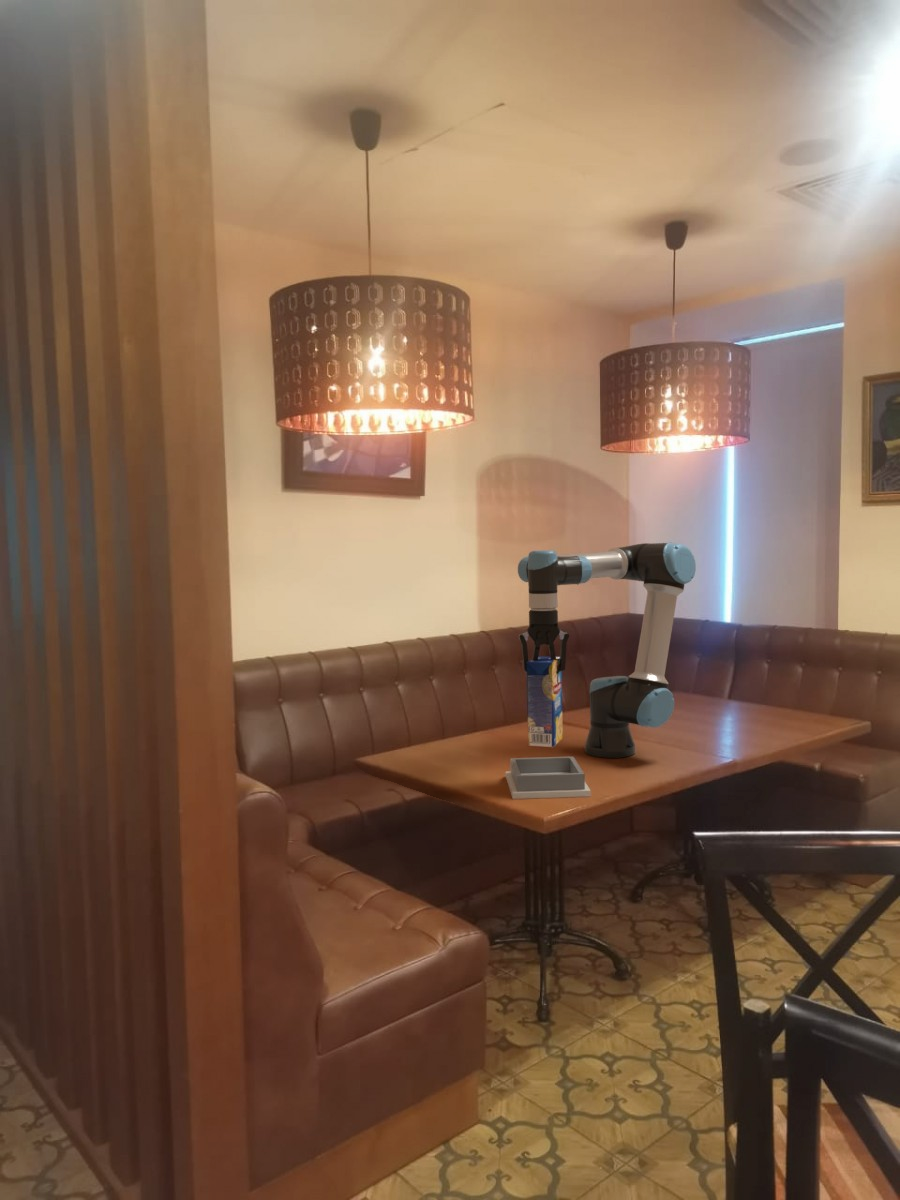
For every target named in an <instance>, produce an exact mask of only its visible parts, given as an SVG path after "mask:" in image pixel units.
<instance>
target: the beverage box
mask: <svg viewBox="0 0 900 1200" xmlns="http://www.w3.org/2000/svg"><path fill="white" fill-rule="evenodd" d="M526 663H527V672H526V700H527V701H526V702H527V703H526V705H527V711H526V713H527V745H528V747H529V746H533V747H545V748H546V747H548V748H554V747H555V746H556V745H557V744H558V743H559V742H560V741H562V739H563V738H564V735H563V734H564V731H563V729H564V728H563V727H564V725H563V724H564V723H563V721H564V719H563V678H562V677H563V675H562V674H563V671H560V672H559V673H557V674H556V671H557V666H559V663H560V656H556V660H551V659H550V656H544V655H543V656H542V655H540V656H539V655H538V660H532V658H531V659H528V661H527V662H526Z"/></svg>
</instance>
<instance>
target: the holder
mask: <svg viewBox="0 0 900 1200" xmlns="http://www.w3.org/2000/svg"><path fill="white" fill-rule="evenodd" d="M509 764H510V771H505V779H506V781H507V785H508V789H509V791H510V794H511V798H512V800H519V799H521V800H523V799H526V800H527V799H550V798H551V799H552V798H553V799H555V798H559V799H560V798H584V797H585V798H587V797H592V791H591V789H590V787H589V785H588V784H587V782H586V780H585V779H586V778H585V773H584V771H583V769H582V768H581V766H580V765H579V763H578V761H577V760H576V758H575V757H574V756H549V757H547V756H546V757H545V756H544V757H542V756H541V757H519V758H518V757H517V758H516V757H514V758H510V763H509Z"/></svg>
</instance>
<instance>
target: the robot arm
mask: <svg viewBox="0 0 900 1200" xmlns="http://www.w3.org/2000/svg"><path fill="white" fill-rule="evenodd" d="M696 566H697V565H696V560H695V556H694V555H693V552H692V551H691V549H690V548H689V547H688V546H687V545H685V544H683V543H675V542H663V543H662V542H660V543H658V542H657V543H653V542H652V543H646V542H645V543H643V542H642V543H638V544H631V545H628V546H626V545H625V546H620V547H613V548H610V549H609V550H608V551H599V552H584V553H581V552H580V553H570V554H557V551H556V550H554V549H553V550H552V549H550V550H547V549H546V550H545V549H544V550H541V549H540V550H531V551H530V552H529V553H528V556H524V557H523V558H521V559H520V560H519V562H518V565H517V574H518V577H519V578H520V580H521V581H522V582H525V583H528V584H527V585H528V607H529V609H530V610H529V611H528V625H529V626H528V628H527V631H525V632H524V633H519V634H518V638H519V640H520V645H521V652H522V653H521V654H522V667H523V670H524V671H525V672H526V673H527V663H526V662H527V661H529V654H528V653H529V652H528V643H527V641H528V640H529V637H530V639H532V641H533V642H534V643H533V650H532V657H531V659H532V660H538V656H539V655H540V649H541V646H543V645H547V648H548V652H549V657H550V659H551V660H556V657H557V656H556V651H555V644H554V642H555V640H556V639H557V637H558V636H559V640H560V647H559V648H560V649H559V657H560V663H559V666H557V671H556V674H557V673H559V672H560V671H562V672H564V671H565V670H566V662H567V661H566V660H567V643H568V640H569V638H570V634H569V633H567V632H563V631H562V630H561V628H560V627H559V616H558V614H559V613H558V612H559V611H558V610H557V609H556V608H558V586H566V585H580V584H585V583H587V582H588V581H590V579H600V578H610V579H612V580H615V581H616V580H627V581H629V580H630V581H637V582H643V585H642V586H643V587H644V589H645V590H646V591H647V594H646V600H645V605H644V612H643V618H642V622H641V623H642V625H641V632H640V635H639V643H638V648H637V655H636V662H635V668H634V672H632V673H631V674H630V675H628V676H626V675H616V676H615V675H613V676H605V677H597V678H595V679H592V680H591V682H590V684H589V691H588V693H589V717H590V720H589V721H590V727H589V731H588V733H587V737H586V739H585V743H584V752H585V753H586V755H589V756H592V757H597V758H603V759H604V758H607V759H609V758H610V759H613V758H614V759H618V758H619V759H620V758H626V757H631V756H633V755H635V754H636V744H635V741H634V739H633V735H632V732H631V729H630V724H632V725H637V726H641V727H645V728H648V727H649V728H659V727H662V726H663V725H664V724H665V723H666V722H668V720H669V719H671V716H672V714H673V711H674V709H675V698H674V695H673V693H672V691H670V690H669V682H668V680H667V679H666V677H665V675H666V668H667V663H668V662H667V661H668V656H669V650H670V644H671V636H672V631H673V625H674V618H675V613H676V607H677V599H678V596H679V595H681V594H682V593H683V592H684V591H685V590H684V589H685V584H688V583H690V582H691V581H692V579H694V577H695V574H696V571H697V570H696Z"/></svg>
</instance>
